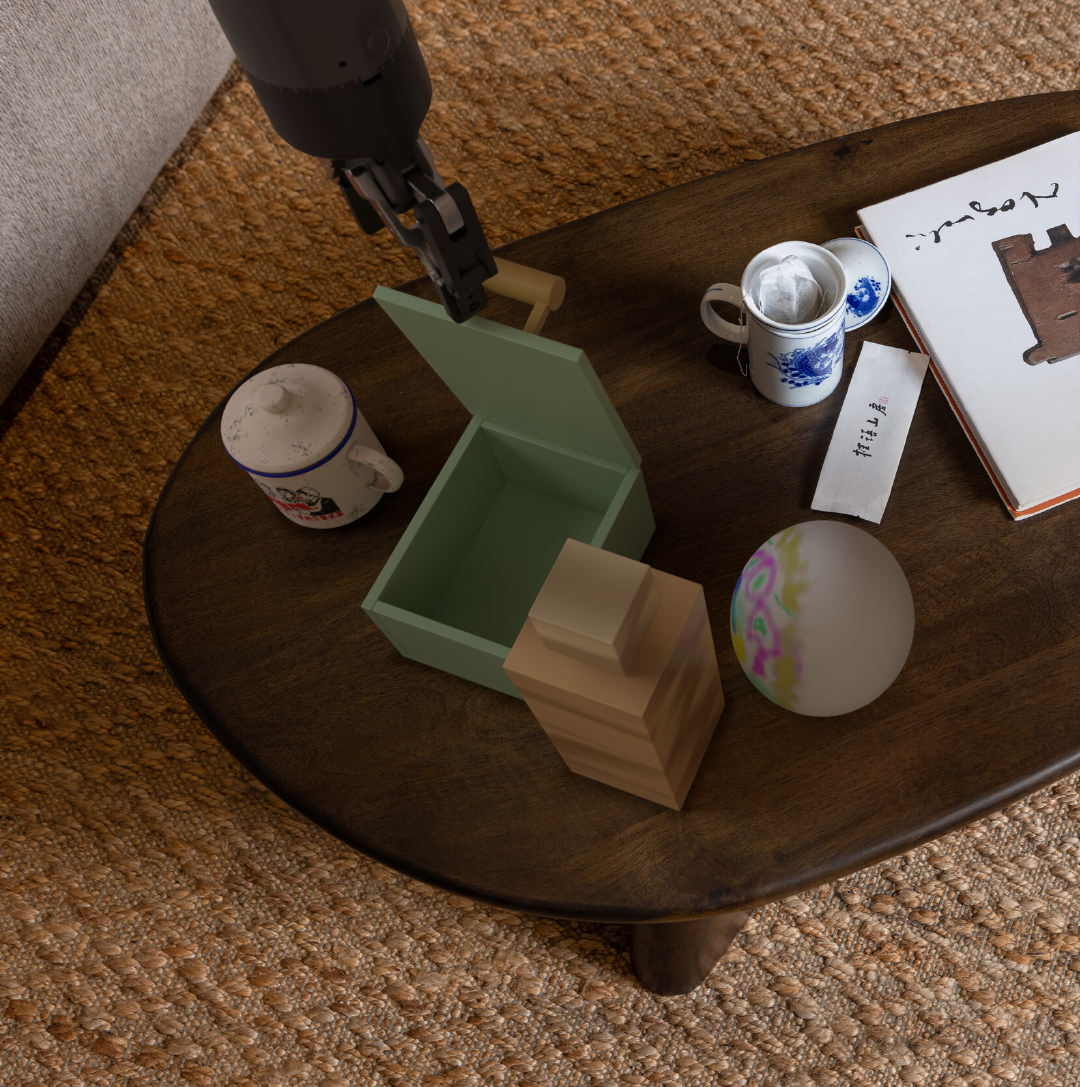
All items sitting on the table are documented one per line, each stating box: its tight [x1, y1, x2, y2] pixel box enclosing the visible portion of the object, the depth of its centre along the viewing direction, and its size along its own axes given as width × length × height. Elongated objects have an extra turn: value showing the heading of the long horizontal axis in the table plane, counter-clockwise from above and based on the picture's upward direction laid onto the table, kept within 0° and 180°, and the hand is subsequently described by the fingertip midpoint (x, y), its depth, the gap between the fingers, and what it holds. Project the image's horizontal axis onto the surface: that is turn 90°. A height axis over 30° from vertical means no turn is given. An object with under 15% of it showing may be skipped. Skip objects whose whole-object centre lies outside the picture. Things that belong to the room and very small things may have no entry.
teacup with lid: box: [220, 363, 405, 530], centre depth 84 cm, size 12×9×12 cm
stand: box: [503, 567, 726, 812], centre depth 72 cm, size 8×8×20 cm
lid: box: [372, 255, 643, 469], centre depth 73 cm, size 16×13×5 cm
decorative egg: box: [729, 519, 916, 718], centre depth 77 cm, size 12×12×15 cm
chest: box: [360, 415, 657, 701], centre depth 81 cm, size 16×13×9 cm
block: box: [528, 538, 660, 676], centre depth 61 cm, size 5×5×5 cm
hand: (424, 267), depth 66 cm, fingers open, 8 cm apart
